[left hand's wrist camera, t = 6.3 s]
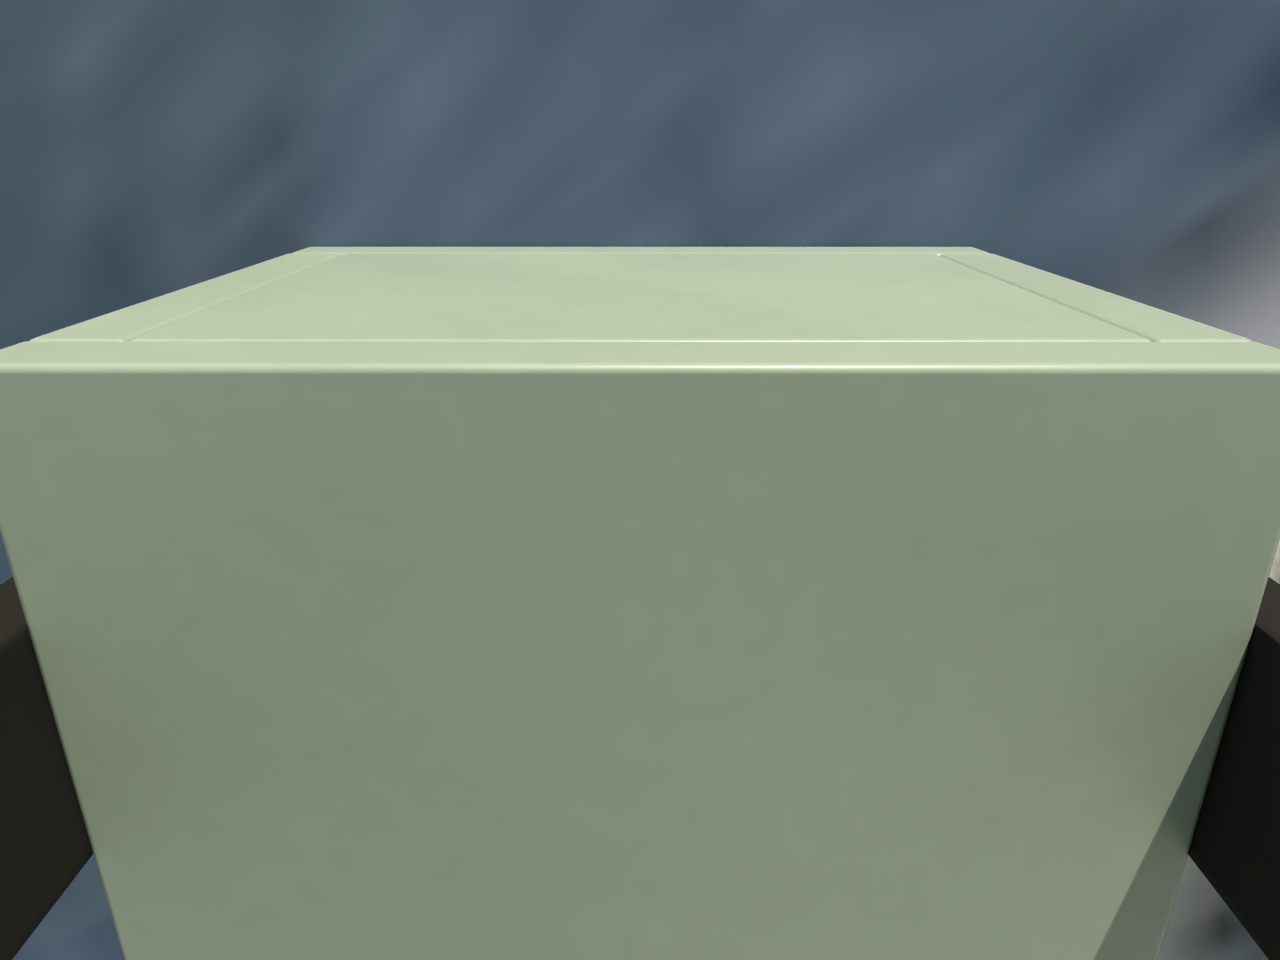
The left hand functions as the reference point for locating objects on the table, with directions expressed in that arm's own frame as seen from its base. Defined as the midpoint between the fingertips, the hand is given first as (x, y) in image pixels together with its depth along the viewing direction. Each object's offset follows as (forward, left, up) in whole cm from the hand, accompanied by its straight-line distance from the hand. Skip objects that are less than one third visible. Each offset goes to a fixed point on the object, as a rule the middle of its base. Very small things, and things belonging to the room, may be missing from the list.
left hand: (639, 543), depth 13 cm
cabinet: (+4, +5, -4) cm, 7 cm away
